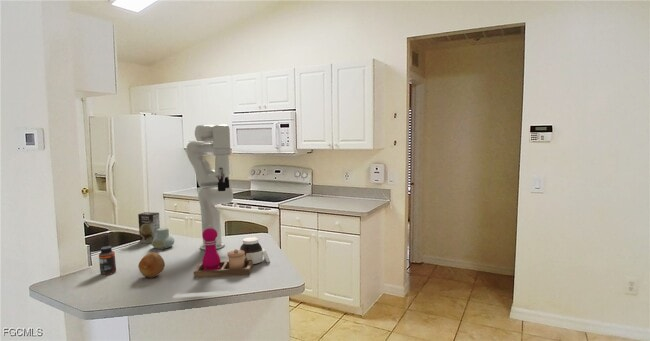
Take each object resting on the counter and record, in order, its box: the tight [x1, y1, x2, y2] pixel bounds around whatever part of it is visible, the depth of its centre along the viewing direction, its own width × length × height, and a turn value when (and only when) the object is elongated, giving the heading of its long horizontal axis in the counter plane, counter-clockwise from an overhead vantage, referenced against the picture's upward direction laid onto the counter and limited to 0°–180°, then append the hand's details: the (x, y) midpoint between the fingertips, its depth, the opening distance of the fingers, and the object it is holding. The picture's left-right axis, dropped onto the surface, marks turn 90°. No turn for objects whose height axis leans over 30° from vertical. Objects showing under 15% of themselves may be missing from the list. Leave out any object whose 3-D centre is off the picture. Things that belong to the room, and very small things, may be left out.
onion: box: [137, 251, 166, 278], centre depth 156 cm, size 10×10×10 cm
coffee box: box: [137, 211, 161, 244], centre depth 210 cm, size 9×6×16 cm
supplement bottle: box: [98, 245, 117, 276], centre depth 161 cm, size 6×6×11 cm
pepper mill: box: [201, 225, 221, 270], centre depth 155 cm, size 7×7×20 cm
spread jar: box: [239, 236, 271, 266], centre depth 168 cm, size 12×11×12 cm
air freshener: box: [151, 227, 175, 250], centre depth 198 cm, size 11×8×10 cm
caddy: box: [193, 260, 254, 279], centre depth 156 cm, size 11×22×4 cm, turn 95°
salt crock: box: [227, 249, 245, 269], centre depth 156 cm, size 7×7×9 cm
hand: (223, 189), depth 171 cm, fingers open, 9 cm apart
